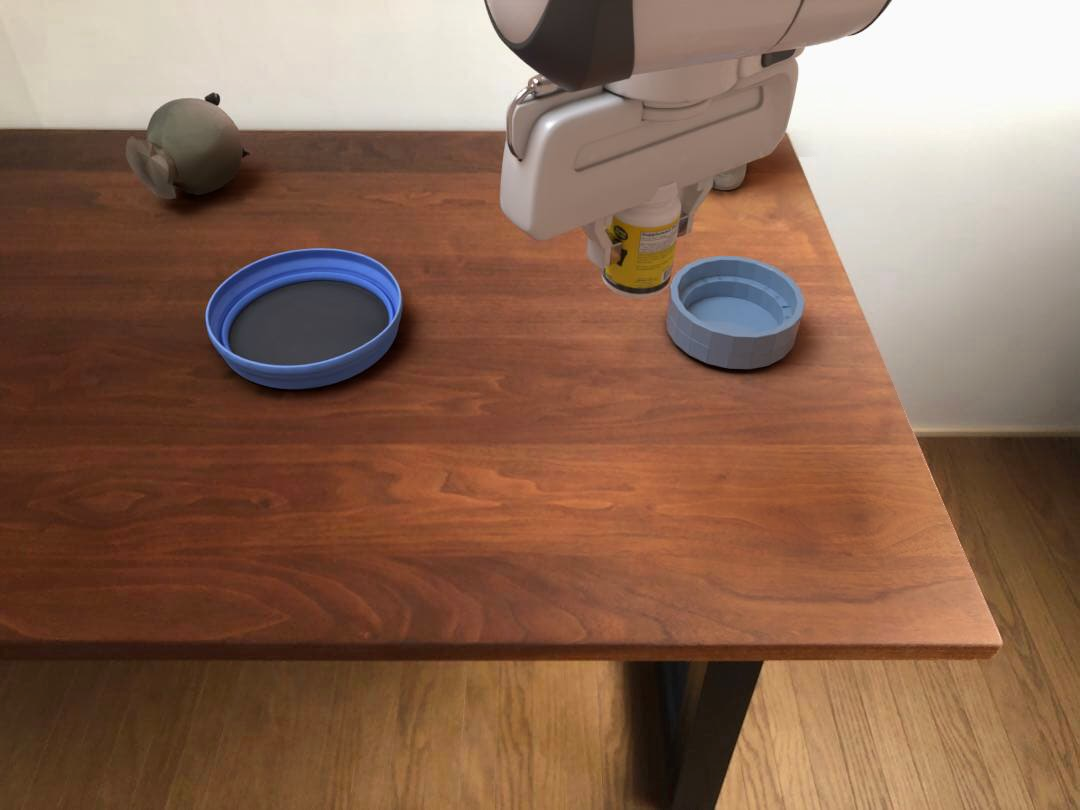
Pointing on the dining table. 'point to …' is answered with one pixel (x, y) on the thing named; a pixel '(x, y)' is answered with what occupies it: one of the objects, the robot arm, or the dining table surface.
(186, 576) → the dining table surface
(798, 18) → the robot arm
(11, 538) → the dining table surface
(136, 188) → the dining table surface
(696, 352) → the blue bowl
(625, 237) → the supplement bottle
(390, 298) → the bowl
